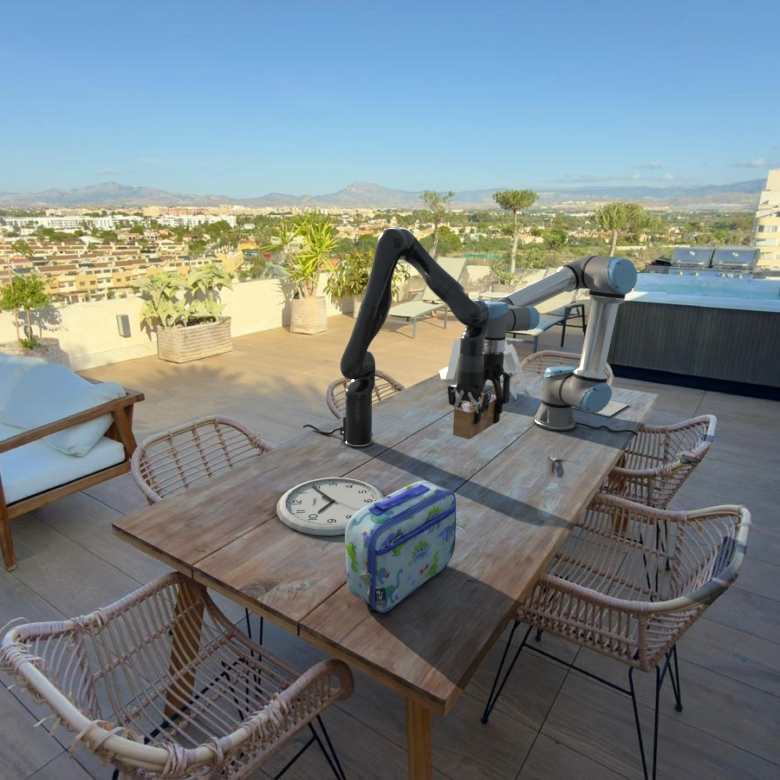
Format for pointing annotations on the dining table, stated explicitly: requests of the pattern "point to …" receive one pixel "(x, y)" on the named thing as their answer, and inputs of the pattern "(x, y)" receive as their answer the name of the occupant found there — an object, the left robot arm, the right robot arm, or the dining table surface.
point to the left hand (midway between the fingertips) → (467, 421)
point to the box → (472, 419)
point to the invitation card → (611, 408)
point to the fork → (554, 460)
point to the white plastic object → (510, 353)
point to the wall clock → (325, 504)
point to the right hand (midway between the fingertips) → (487, 420)
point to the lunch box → (399, 543)
